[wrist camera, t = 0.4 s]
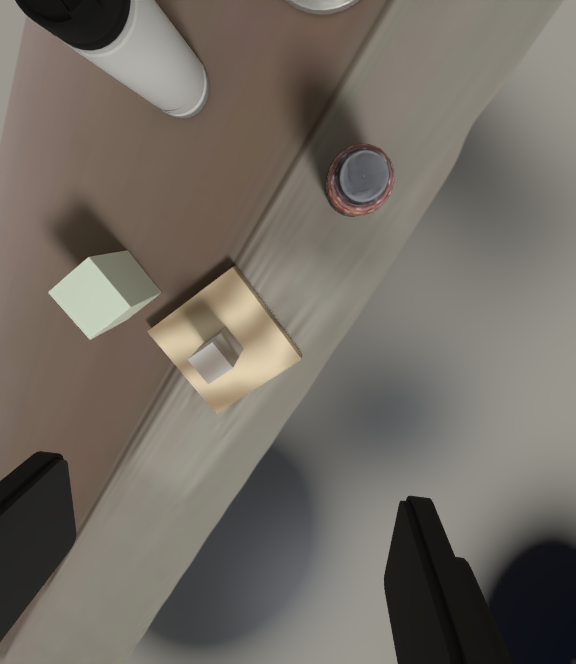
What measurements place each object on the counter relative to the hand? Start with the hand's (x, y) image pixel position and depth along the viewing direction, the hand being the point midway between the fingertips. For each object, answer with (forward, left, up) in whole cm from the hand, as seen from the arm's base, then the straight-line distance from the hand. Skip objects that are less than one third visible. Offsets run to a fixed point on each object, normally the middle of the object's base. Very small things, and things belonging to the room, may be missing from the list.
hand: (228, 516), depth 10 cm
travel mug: (-24, +2, -36) cm, 43 cm away
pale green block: (-12, -18, -35) cm, 42 cm away
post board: (+1, -12, -35) cm, 37 cm away
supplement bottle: (-5, +11, -36) cm, 38 cm away
